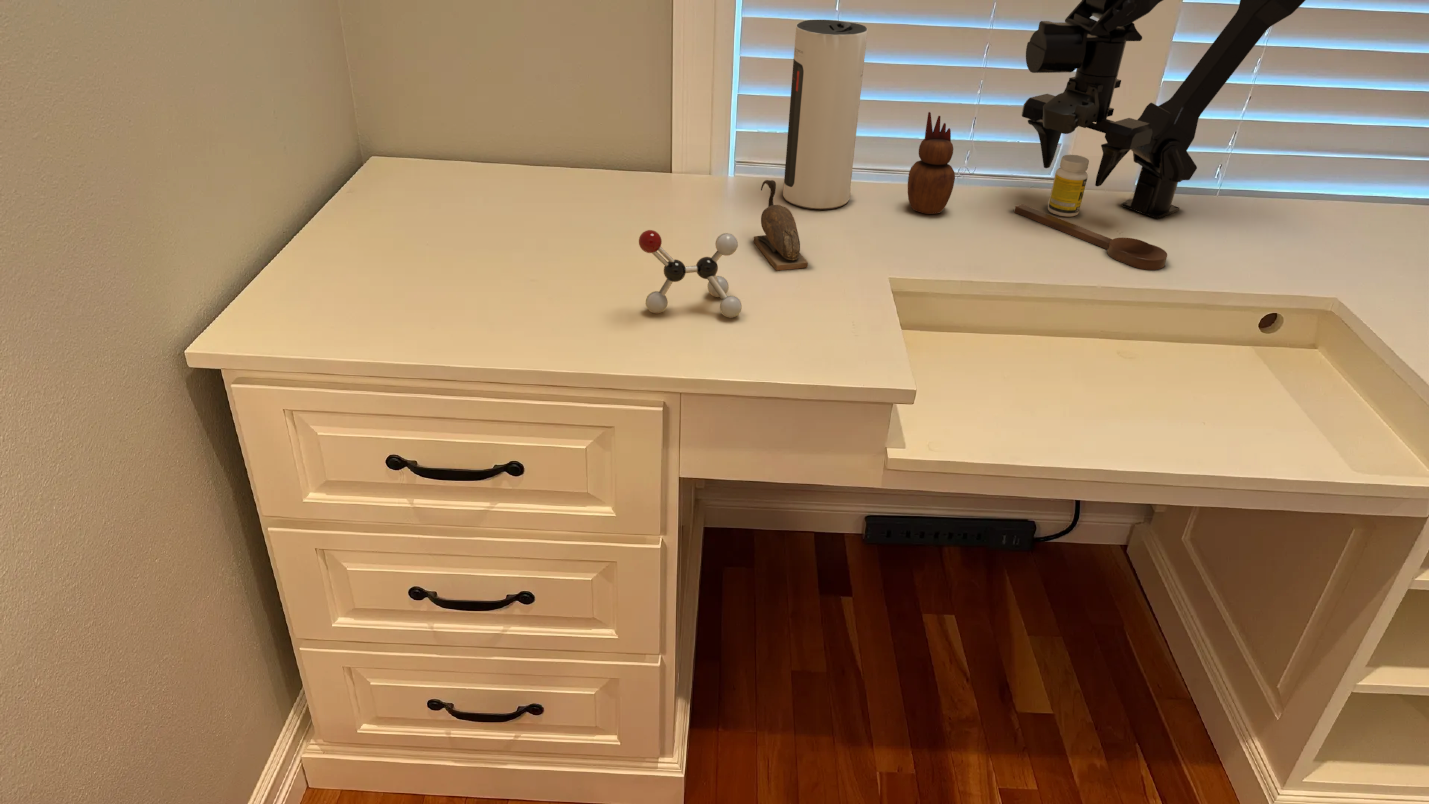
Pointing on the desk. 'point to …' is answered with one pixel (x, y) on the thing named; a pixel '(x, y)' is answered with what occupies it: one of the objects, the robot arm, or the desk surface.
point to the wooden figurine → (932, 171)
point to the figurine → (779, 235)
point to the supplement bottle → (1068, 186)
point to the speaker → (823, 112)
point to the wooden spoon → (1104, 241)
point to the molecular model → (704, 269)
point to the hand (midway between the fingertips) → (1071, 176)
